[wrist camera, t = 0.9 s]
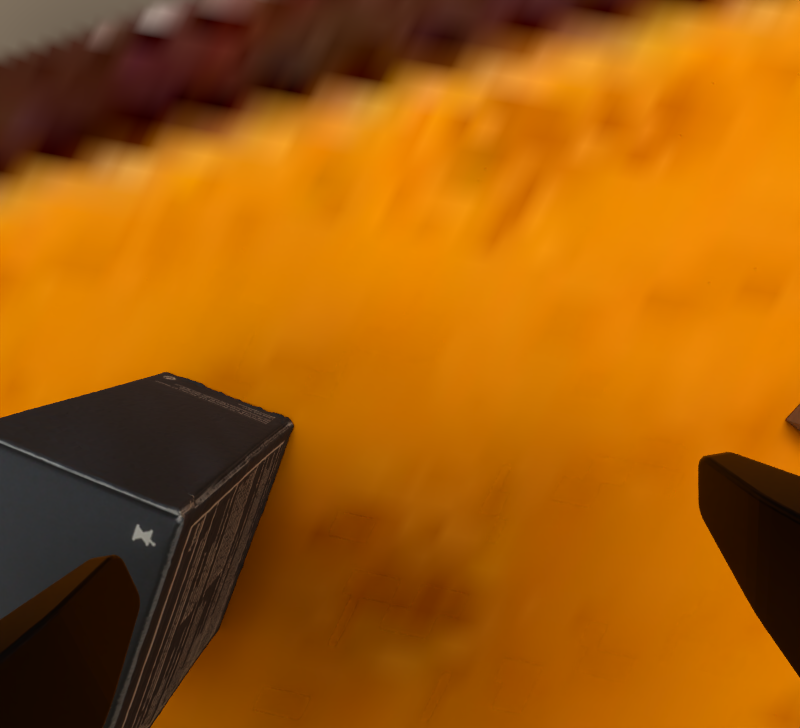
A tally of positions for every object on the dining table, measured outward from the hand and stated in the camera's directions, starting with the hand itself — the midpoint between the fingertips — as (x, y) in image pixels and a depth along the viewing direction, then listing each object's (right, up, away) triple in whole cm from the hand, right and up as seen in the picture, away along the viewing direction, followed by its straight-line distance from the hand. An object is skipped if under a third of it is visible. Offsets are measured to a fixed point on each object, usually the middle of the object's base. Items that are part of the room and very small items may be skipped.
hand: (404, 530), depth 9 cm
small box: (-9, -3, +16) cm, 19 cm away
